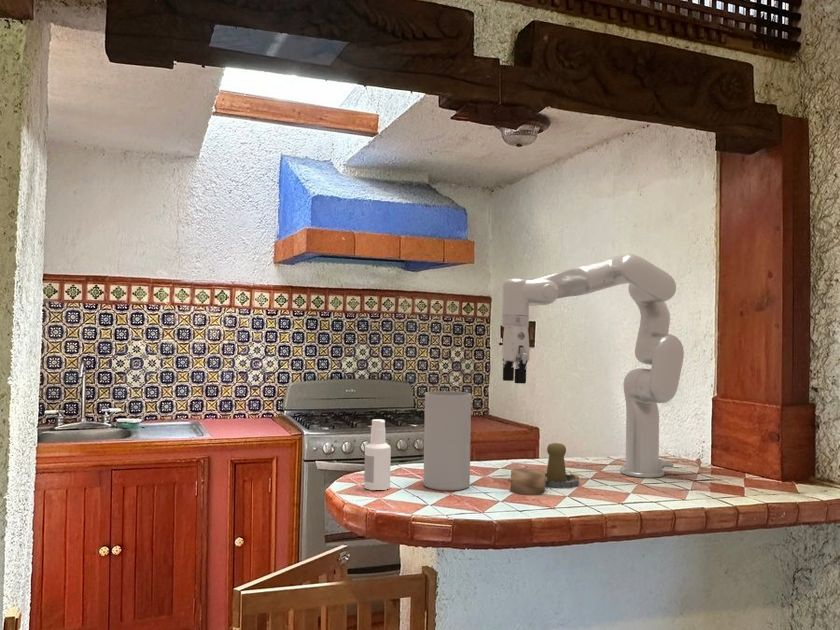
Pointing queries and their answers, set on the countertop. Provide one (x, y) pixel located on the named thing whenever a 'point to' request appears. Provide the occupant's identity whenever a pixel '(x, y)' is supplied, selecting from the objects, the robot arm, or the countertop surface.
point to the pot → (527, 481)
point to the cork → (556, 462)
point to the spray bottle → (377, 458)
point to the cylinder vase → (447, 440)
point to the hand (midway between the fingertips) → (514, 381)
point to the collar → (564, 482)
